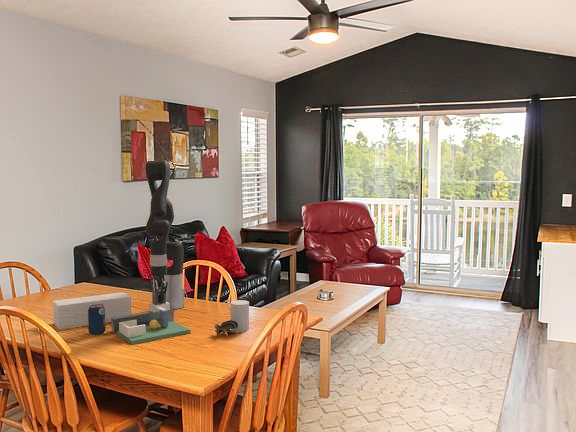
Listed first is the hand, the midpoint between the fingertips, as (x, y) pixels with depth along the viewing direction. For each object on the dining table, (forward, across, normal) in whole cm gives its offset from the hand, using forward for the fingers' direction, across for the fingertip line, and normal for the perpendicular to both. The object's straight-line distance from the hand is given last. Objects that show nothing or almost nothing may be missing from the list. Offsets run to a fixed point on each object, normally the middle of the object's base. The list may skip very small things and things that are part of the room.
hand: (159, 301), depth 249 cm
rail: (+10, 0, +8) cm, 13 cm away
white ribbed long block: (+11, +22, +22) cm, 33 cm away
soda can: (+10, +2, +28) cm, 30 cm away
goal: (+9, -11, +17) cm, 22 cm away
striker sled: (+8, -5, 0) cm, 10 cm away
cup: (+10, -29, -24) cm, 39 cm away
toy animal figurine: (+10, -33, -15) cm, 37 cm away
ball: (+7, -11, +8) cm, 15 cm away
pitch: (+10, -13, +9) cm, 19 cm away
